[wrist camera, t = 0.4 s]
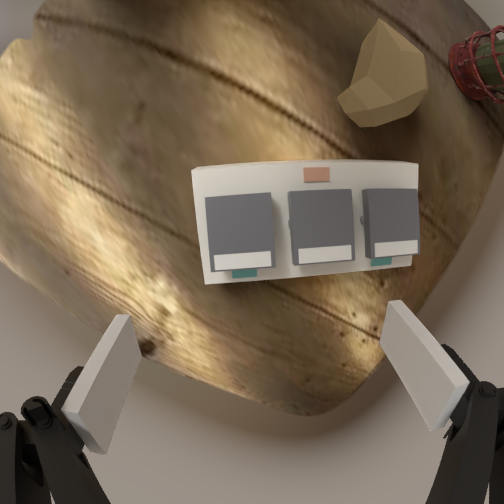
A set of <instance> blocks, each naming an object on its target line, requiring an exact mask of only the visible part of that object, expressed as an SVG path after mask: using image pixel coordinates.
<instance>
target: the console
mask: <svg viewBox="0 0 504 504" xmlns="http://www.w3.org/2000/svg"><path fill="white" fill-rule="evenodd" d="M191 172H192V182H193V192H194V201H195V210H196V219H197V227H198V235H199V243H200V251H201V258H202V265H203V273H204V280H205V284H216V283H231V282H245V281H258V280H270V279H283V278H294V277H306V276H317V275H327V274H338V273H348V272H358V271H367V270H377V269H386V268H395V267H404V266H411V262H412V255H409V256H399V257H388V258H378V259H369V258H366V257H365V235H364V215H363V201H362V190H364V189H378V188H405V189H417V191H418V164H416V163H410V162H404V161H393V160H356V159H327V160H288V161H267V162H251V163H238V164H225V165H214V166H204V167H197V168H195V169H193V170H191ZM329 189H351V190H352V203H353V218H354V237H355V261H346V262H334V263H323V264H311V265H299V266H294V265H293V264H292V253H291V237H290V222H289V208H288V195H287V193H288V192H289V191H304V190H329ZM267 192H271V200H272V213H273V227H274V242H275V257H276V267H275V268H262V269H249V270H236V271H222V272H211V268H210V257H209V246H208V234H207V221H206V208H205V197H215V196H227V195H239V194H252V193H267Z"/></svg>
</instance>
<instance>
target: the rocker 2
mask: <svg viewBox="0 0 504 504" xmlns="http://www.w3.org/2000/svg"><path fill="white" fill-rule="evenodd" d="M362 201H363V215H364V235H365V257H366V258H369V259H378V258H388V257H399V256H409V255H419V254H420V223H419V204H418V191H417V189H405V188H378V189H364V190H362Z"/></svg>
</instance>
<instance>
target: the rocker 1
mask: <svg viewBox="0 0 504 504" xmlns="http://www.w3.org/2000/svg"><path fill="white" fill-rule="evenodd" d="M205 208H206V221H207V234H208V246H209V257H210V268H211V272H222V271H236V270H249V269H262V268H275V267H276V257H275V242H274V227H273V213H272V200H271V192H267V193H252V194H239V195H227V196H215V197H205Z"/></svg>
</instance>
